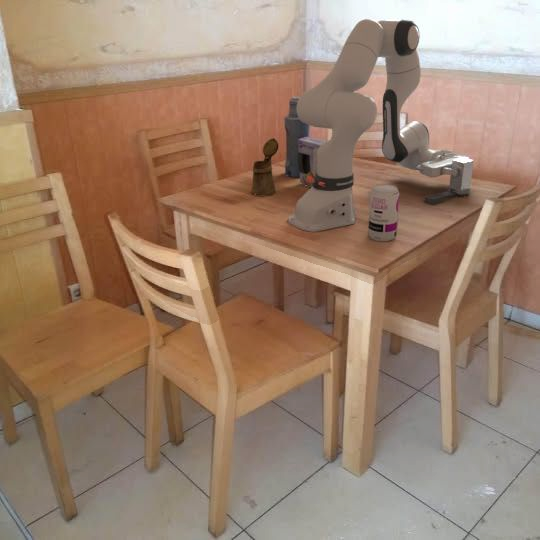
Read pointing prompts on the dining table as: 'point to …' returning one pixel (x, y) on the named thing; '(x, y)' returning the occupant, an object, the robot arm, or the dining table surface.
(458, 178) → the tall grey pillar block
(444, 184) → the dining table surface
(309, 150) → the cake pan box
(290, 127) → the bottle
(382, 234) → the supplement can
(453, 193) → the ratchet
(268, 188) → the wooden mug
